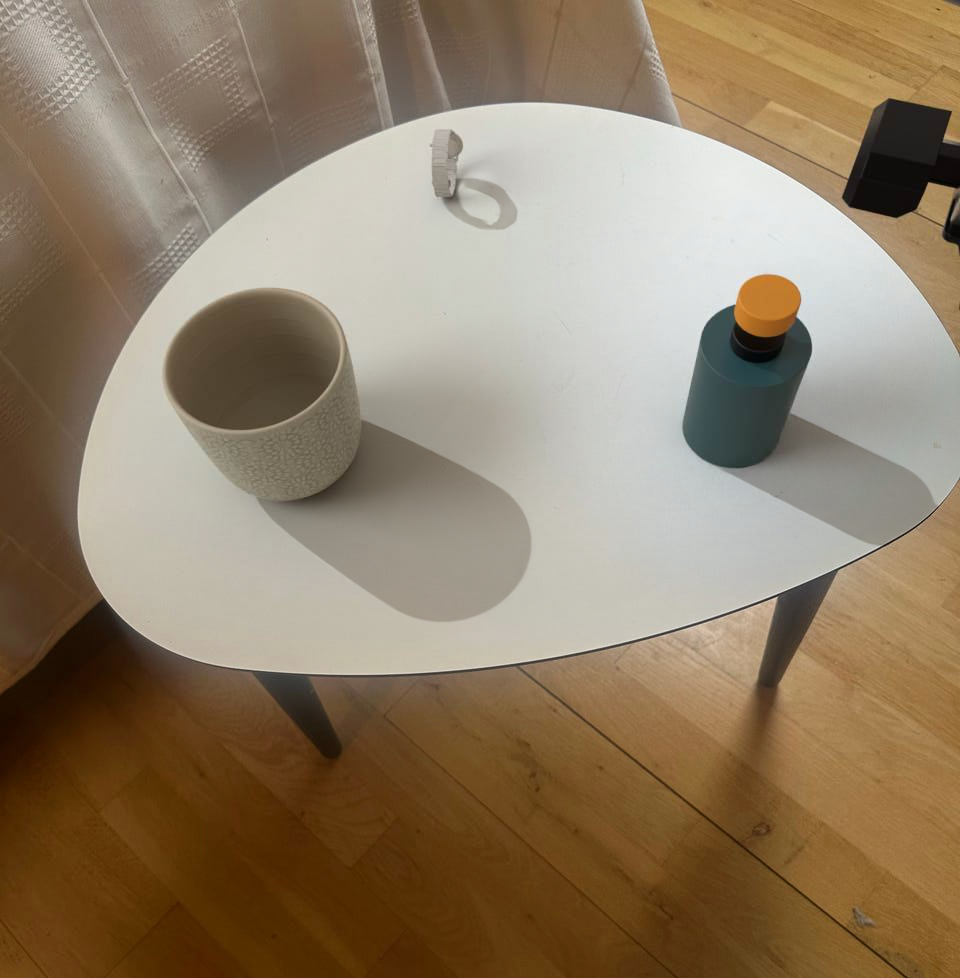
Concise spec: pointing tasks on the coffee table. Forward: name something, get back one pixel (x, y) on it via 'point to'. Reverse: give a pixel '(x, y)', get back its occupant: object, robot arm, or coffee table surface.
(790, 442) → the coffee table surface
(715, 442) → the bottle
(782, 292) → the orange short cylinder
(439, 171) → the wristwatch
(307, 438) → the planter
